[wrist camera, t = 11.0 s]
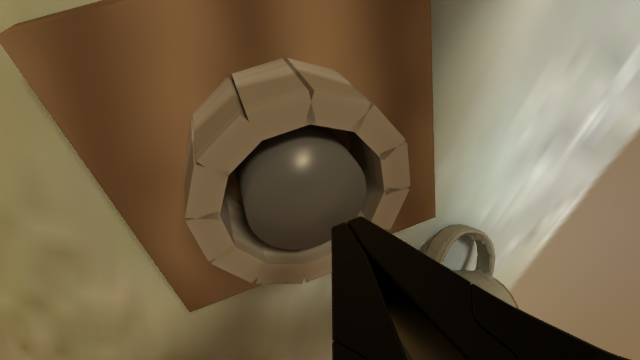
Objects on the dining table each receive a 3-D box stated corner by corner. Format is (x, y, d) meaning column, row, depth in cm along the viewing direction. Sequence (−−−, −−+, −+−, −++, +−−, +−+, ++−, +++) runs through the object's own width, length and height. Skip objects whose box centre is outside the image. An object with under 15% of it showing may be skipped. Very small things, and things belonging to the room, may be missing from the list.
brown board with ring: (403, -82, 16) (498, -86, 11) (419, 199, 26) (474, 260, 21) (15, 24, 14) (-67, 73, 9) (188, 286, 24) (191, 376, 19)
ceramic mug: (446, 312, 35) (504, 392, 29) (368, 319, 32) (415, 412, 26) (499, 218, 30) (583, 291, 24) (414, 217, 27) (485, 300, 21)
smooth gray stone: (322, 90, 17) (355, 128, 14) (342, 176, 20) (373, 223, 17) (216, 127, 17) (226, 175, 13) (253, 210, 20) (268, 265, 16)
